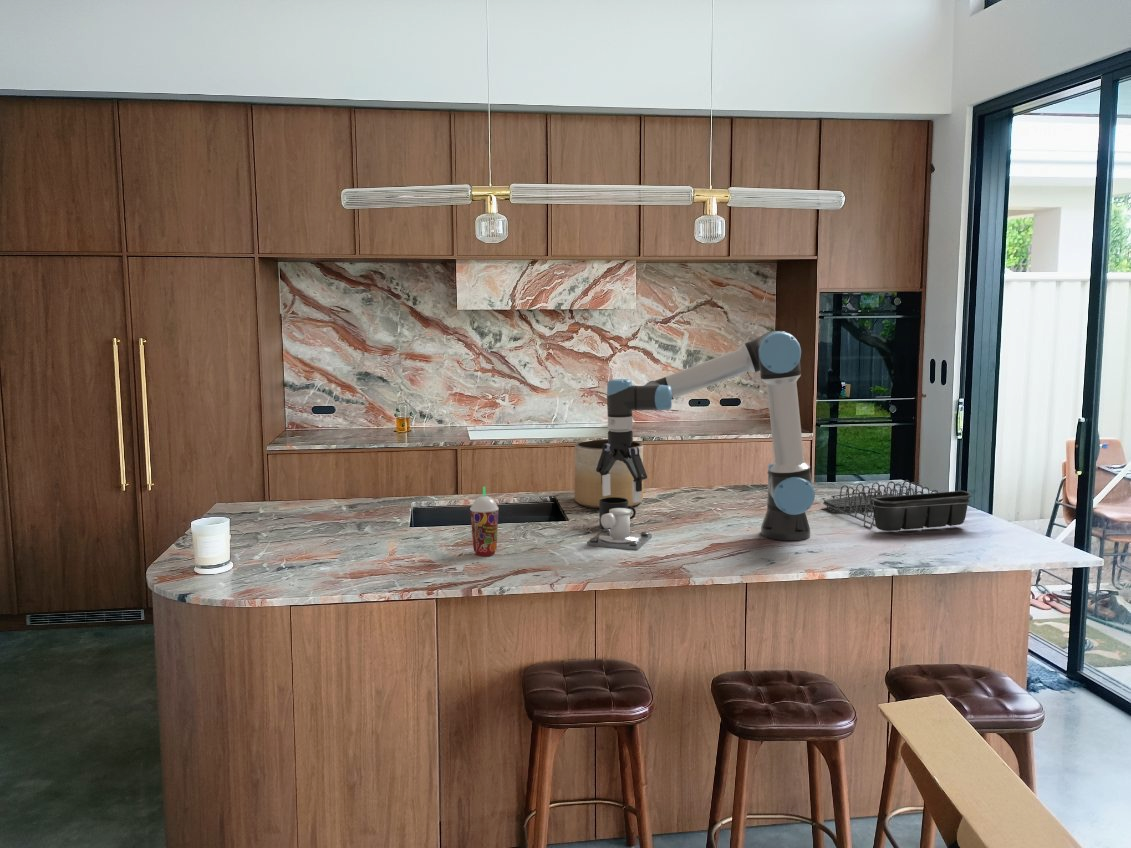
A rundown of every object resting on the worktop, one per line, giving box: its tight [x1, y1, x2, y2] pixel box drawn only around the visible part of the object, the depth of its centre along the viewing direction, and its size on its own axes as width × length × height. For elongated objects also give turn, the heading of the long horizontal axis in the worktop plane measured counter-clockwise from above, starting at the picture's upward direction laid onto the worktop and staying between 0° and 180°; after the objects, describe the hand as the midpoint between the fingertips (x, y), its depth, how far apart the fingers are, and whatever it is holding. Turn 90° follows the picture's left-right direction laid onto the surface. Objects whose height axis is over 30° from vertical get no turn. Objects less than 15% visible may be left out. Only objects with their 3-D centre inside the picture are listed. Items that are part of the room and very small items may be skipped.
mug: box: [598, 497, 637, 530], centre depth 292 cm, size 9×12×9 cm
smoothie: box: [469, 486, 500, 557], centre depth 260 cm, size 8×8×20 cm
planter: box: [573, 438, 644, 510], centre depth 328 cm, size 25×25×22 cm
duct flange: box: [586, 528, 653, 551], centre depth 275 cm, size 16×16×2 cm
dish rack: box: [822, 479, 973, 532], centre depth 303 cm, size 34×44×12 cm
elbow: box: [601, 508, 632, 539], centre depth 273 cm, size 9×7×8 cm
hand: (621, 498), depth 273 cm, fingers open, 13 cm apart
